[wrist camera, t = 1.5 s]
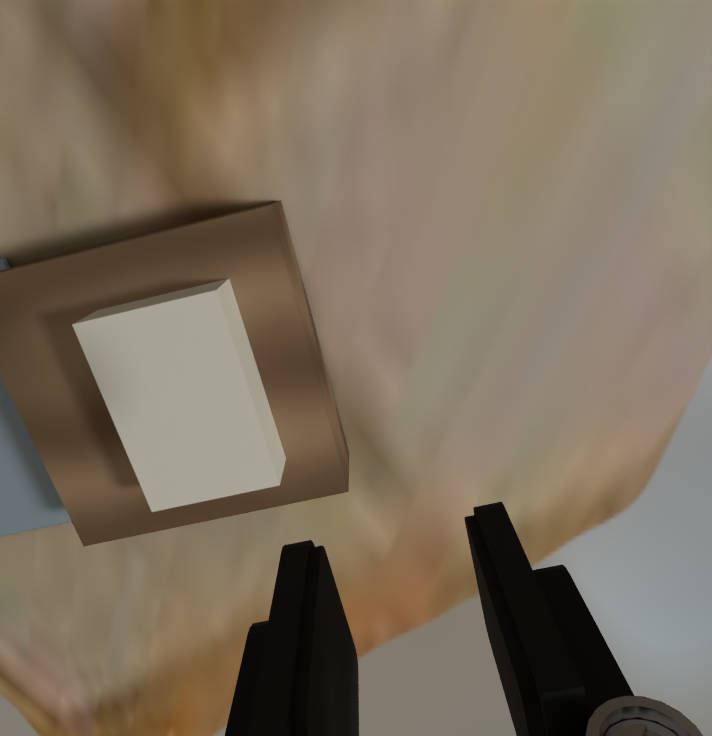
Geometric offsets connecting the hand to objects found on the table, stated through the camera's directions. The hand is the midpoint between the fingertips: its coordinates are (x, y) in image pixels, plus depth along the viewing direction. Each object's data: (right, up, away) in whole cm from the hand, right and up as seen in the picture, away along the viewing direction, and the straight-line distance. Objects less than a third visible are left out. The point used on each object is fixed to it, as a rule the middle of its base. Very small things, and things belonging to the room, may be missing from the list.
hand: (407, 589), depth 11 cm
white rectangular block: (-8, +3, +15) cm, 17 cm away
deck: (-10, +4, +19) cm, 22 cm away
